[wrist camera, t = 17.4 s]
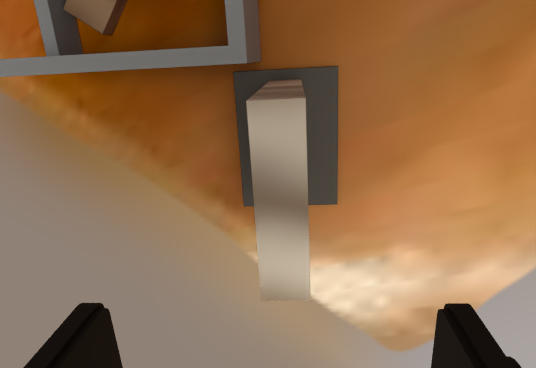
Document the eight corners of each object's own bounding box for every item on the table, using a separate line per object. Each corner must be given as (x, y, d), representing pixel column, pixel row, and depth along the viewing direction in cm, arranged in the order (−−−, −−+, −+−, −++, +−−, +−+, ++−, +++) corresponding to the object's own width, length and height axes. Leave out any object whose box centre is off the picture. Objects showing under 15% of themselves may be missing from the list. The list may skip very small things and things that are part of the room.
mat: (234, 71, 36) (233, 71, 36) (337, 66, 36) (338, 66, 35) (244, 204, 41) (244, 206, 40) (336, 202, 40) (337, 204, 39)
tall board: (269, 80, 36) (246, 101, 19) (301, 78, 36) (305, 97, 19) (276, 196, 40) (261, 300, 23) (304, 196, 39) (310, 300, 22)
